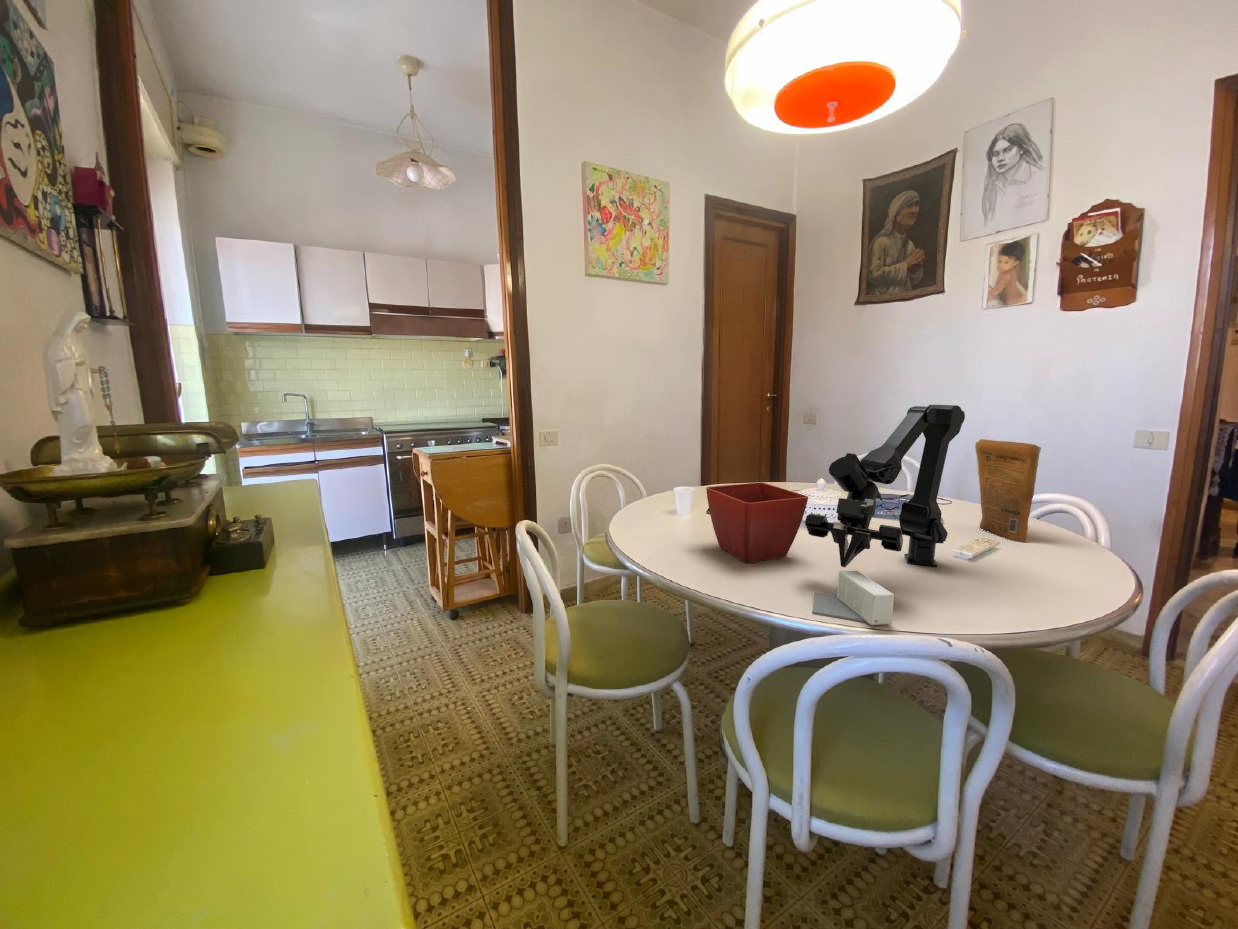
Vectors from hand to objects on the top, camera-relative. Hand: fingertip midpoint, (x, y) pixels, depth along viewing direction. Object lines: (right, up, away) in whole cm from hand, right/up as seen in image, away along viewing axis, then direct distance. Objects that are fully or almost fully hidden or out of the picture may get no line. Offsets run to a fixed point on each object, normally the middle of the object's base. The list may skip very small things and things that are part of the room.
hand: (842, 566), depth 102 cm
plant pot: (-11, -3, +29) cm, 31 cm away
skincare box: (+1, -4, 0) cm, 4 cm away
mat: (-2, -8, -3) cm, 9 cm away
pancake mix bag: (+67, 0, +44) cm, 80 cm away
